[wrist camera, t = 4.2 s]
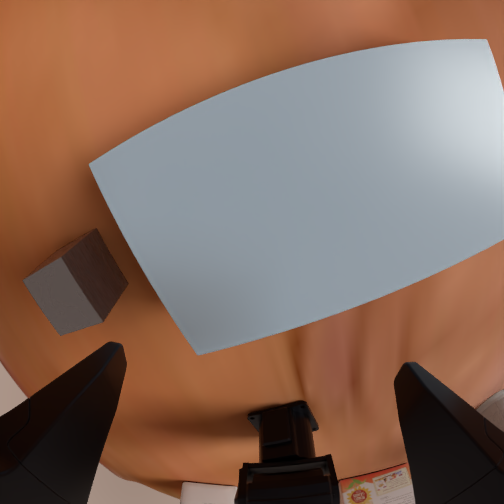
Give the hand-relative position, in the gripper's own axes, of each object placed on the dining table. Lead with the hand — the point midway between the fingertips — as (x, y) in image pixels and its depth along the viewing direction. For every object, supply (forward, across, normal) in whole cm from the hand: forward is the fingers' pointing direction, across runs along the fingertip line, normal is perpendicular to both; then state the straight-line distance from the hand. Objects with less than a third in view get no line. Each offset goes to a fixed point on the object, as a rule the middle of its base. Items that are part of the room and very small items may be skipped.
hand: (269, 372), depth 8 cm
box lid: (+7, -4, -4) cm, 9 cm away
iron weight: (+12, +13, +4) cm, 19 cm away
